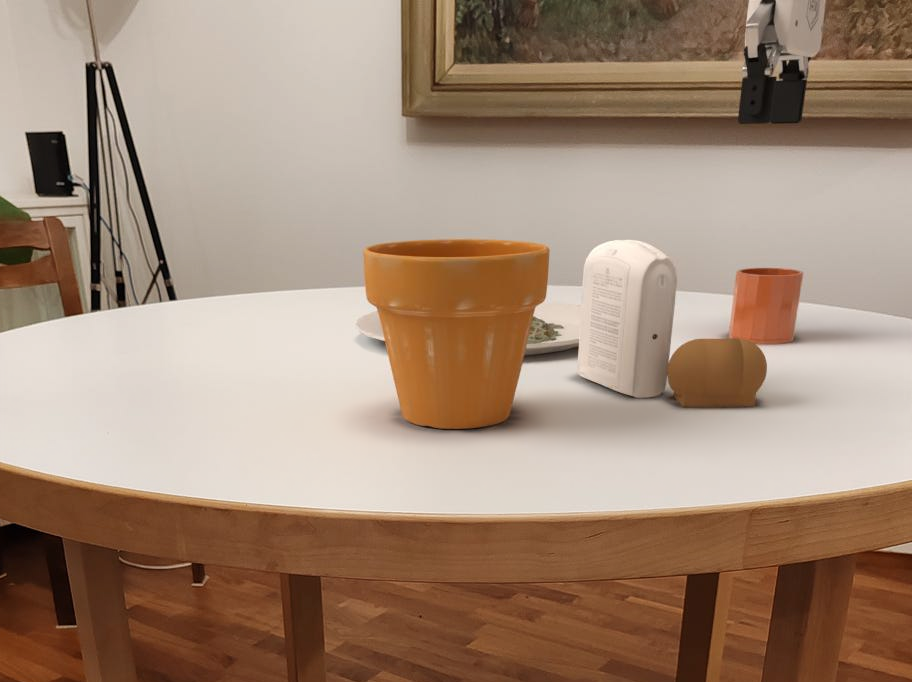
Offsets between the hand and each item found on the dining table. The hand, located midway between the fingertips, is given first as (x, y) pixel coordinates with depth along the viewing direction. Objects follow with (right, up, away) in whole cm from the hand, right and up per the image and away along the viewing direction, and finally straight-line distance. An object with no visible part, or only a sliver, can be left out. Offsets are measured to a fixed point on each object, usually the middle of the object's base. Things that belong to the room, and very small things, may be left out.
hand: (770, 123), depth 101 cm
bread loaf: (-11, -33, -17) cm, 38 cm away
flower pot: (-33, -35, -20) cm, 52 cm away
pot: (+2, -20, +8) cm, 21 cm away
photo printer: (-18, -30, -12) cm, 37 cm away
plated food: (-28, -19, +11) cm, 36 cm away
